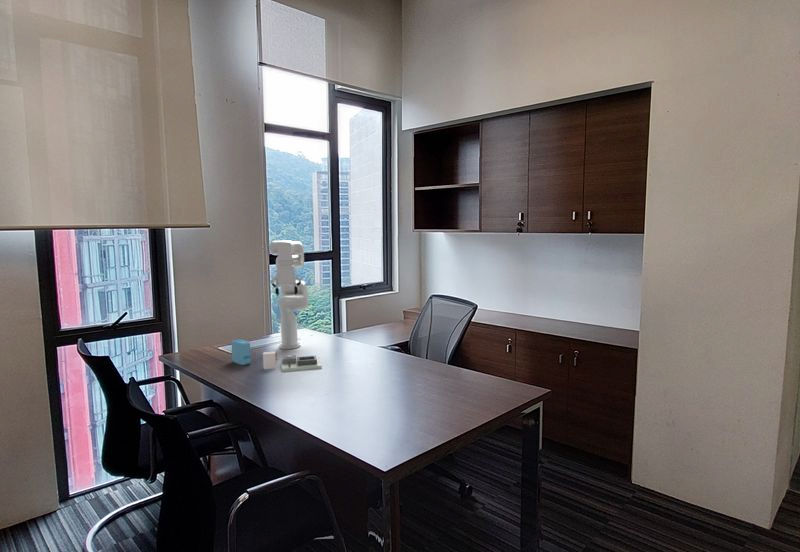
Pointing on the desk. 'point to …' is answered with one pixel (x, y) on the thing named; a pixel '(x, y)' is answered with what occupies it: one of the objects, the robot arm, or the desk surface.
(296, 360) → the board
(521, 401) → the desk surface
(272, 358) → the plug
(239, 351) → the data package
